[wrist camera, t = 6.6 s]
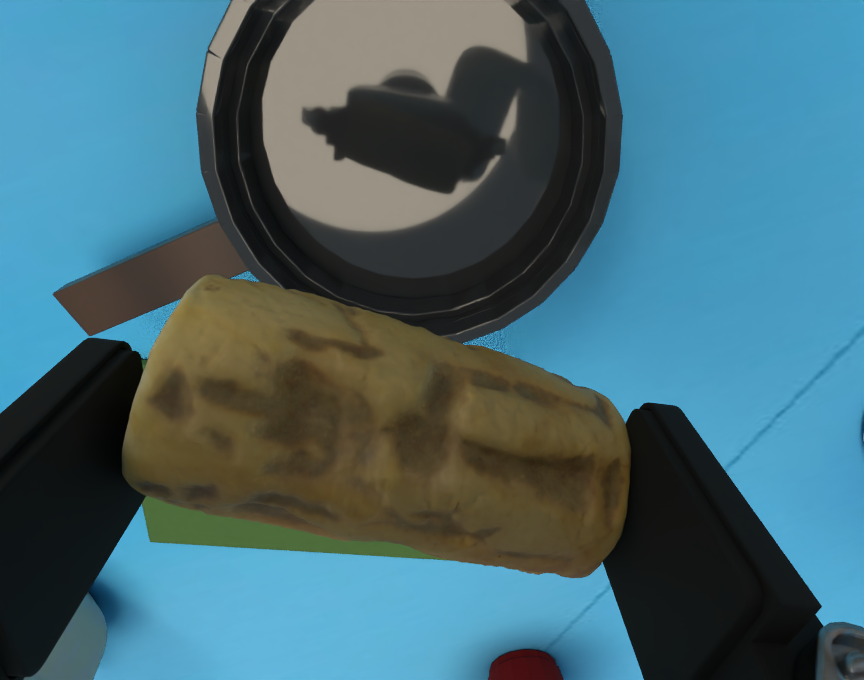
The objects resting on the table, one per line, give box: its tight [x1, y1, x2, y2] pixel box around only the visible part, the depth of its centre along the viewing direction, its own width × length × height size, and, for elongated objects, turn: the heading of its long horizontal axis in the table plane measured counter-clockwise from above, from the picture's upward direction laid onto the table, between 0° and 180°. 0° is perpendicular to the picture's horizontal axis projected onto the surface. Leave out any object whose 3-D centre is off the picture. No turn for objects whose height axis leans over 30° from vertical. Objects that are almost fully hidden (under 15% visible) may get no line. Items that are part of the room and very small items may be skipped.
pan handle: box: [53, 218, 249, 336], centre depth 21 cm, size 8×2×1 cm, turn 112°
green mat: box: [142, 360, 449, 560], centre depth 30 cm, size 20×14×1 cm
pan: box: [196, 0, 623, 344], centre depth 20 cm, size 15×15×4 cm
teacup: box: [23, 593, 107, 680], centre depth 33 cm, size 14×11×8 cm
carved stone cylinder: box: [122, 275, 631, 578], centre depth 10 cm, size 8×4×4 cm, turn 69°
